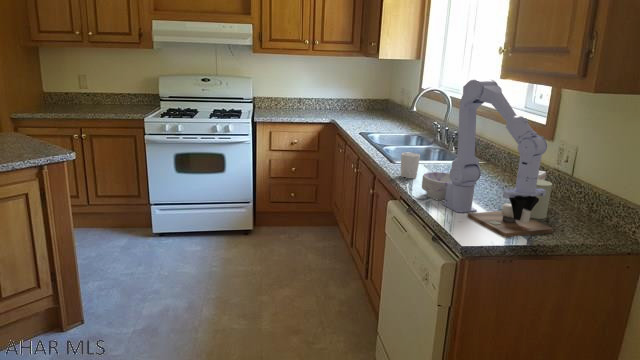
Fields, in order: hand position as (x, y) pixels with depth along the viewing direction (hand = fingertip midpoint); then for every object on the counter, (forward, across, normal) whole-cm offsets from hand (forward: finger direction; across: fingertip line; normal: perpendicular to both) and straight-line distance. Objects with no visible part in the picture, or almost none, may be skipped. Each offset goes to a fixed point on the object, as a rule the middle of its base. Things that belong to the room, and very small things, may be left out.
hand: (520, 219), depth 146 cm
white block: (0, 0, +2) cm, 2 cm away
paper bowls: (+4, -5, +35) cm, 36 cm away
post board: (+3, 0, +4) cm, 6 cm away
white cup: (+4, -2, +65) cm, 65 cm away
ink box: (+4, +26, +22) cm, 35 cm away
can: (+4, +16, +12) cm, 20 cm away
